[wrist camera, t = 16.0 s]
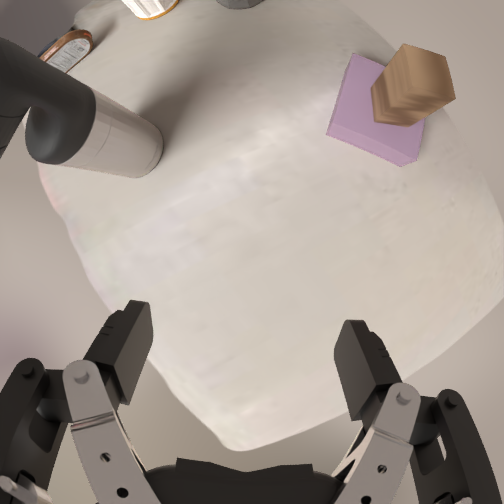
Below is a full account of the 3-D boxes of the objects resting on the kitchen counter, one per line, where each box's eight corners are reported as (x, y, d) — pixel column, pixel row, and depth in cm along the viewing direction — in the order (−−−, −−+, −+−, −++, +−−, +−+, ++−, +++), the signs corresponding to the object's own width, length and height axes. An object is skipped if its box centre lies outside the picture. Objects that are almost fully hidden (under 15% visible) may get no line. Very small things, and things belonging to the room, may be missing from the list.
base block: (325, 135, 36) (332, 122, 30) (344, 71, 34) (352, 52, 28) (399, 167, 35) (416, 160, 29) (413, 102, 33) (429, 89, 27)
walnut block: (373, 122, 29) (412, 86, 17) (370, 88, 28) (403, 43, 17) (408, 127, 29) (455, 98, 17) (403, 94, 28) (445, 56, 16)
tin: (99, 39, 36) (77, 21, 28) (101, 47, 36) (78, 29, 28) (49, 82, 38) (24, 71, 30) (50, 91, 39) (25, 80, 30)
